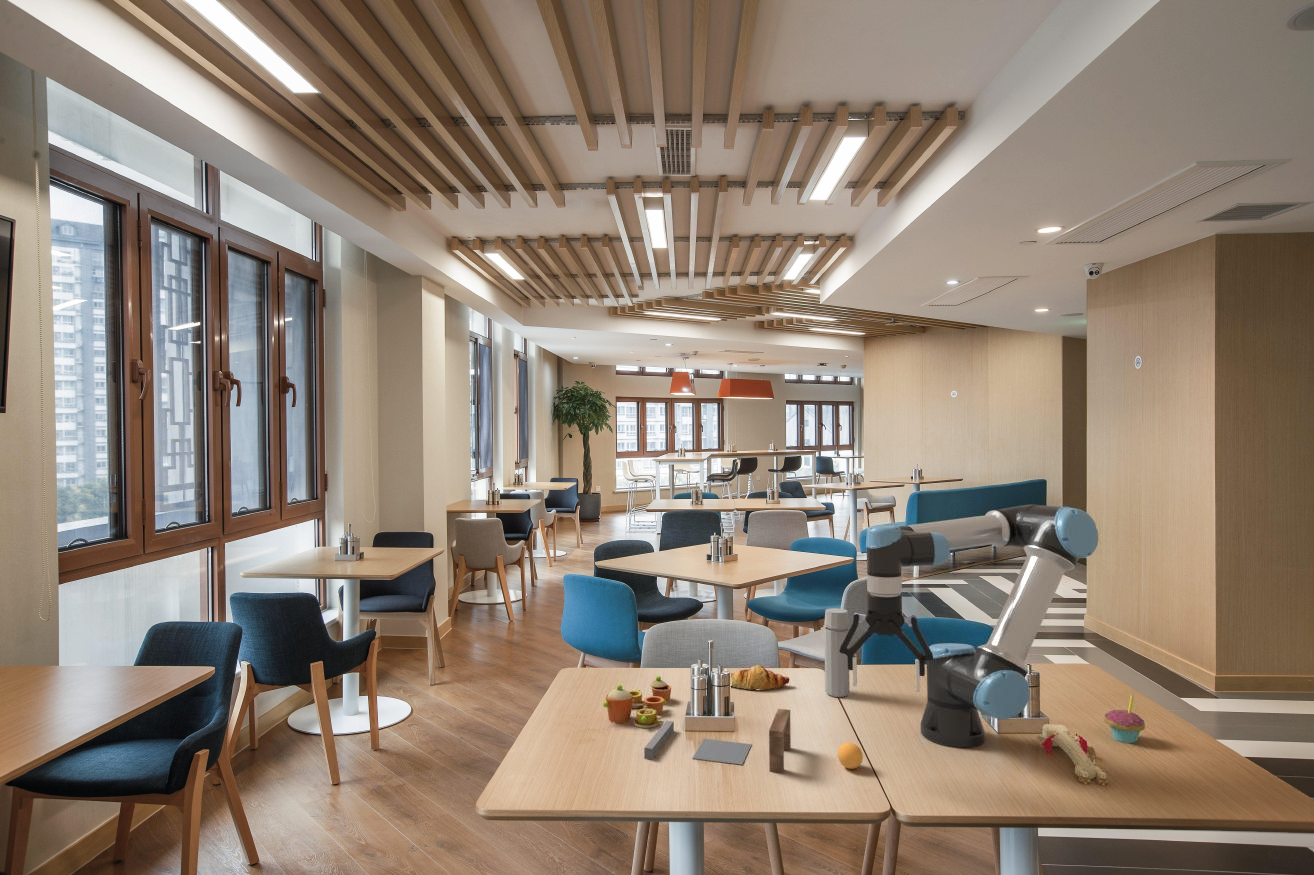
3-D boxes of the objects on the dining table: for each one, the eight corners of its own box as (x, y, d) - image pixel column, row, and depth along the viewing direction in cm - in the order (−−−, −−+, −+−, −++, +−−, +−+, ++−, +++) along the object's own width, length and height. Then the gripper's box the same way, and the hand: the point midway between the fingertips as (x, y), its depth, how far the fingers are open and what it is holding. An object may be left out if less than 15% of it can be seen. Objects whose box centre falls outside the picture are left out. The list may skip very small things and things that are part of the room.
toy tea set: (655, 732, 184) (655, 695, 185) (599, 727, 188) (599, 690, 188) (678, 699, 209) (678, 666, 210) (628, 695, 213) (628, 663, 214)
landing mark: (751, 745, 175) (751, 744, 175) (742, 765, 164) (742, 764, 164) (704, 739, 179) (704, 738, 179) (692, 758, 167) (692, 758, 167)
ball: (863, 764, 164) (862, 740, 164) (862, 774, 159) (862, 749, 159) (838, 761, 165) (838, 737, 166) (837, 771, 160) (837, 746, 160)
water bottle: (851, 699, 208) (850, 613, 208) (824, 697, 209) (823, 612, 210) (849, 689, 217) (848, 607, 217) (823, 687, 218) (822, 606, 219)
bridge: (790, 747, 173) (790, 709, 174) (782, 773, 160) (782, 731, 160) (778, 746, 174) (778, 708, 174) (769, 771, 160) (769, 730, 161)
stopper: (673, 731, 184) (673, 721, 184) (652, 759, 167) (652, 748, 167) (666, 730, 185) (666, 720, 185) (644, 758, 168) (644, 747, 168)
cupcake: (1141, 736, 179) (1140, 688, 179) (1148, 749, 171) (1147, 699, 172) (1102, 731, 183) (1100, 684, 183) (1107, 743, 175) (1106, 694, 175)
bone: (1119, 792, 153) (1070, 737, 177) (1120, 753, 152) (1071, 703, 177) (1069, 789, 154) (1028, 735, 179) (1070, 750, 154) (1028, 701, 178)
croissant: (721, 699, 218) (720, 680, 215) (721, 675, 227) (720, 656, 224) (790, 700, 216) (791, 680, 213) (787, 675, 225) (787, 656, 222)
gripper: (941, 593, 161) (943, 687, 160) (829, 587, 169) (831, 677, 168) (944, 599, 154) (946, 697, 153) (827, 593, 161) (828, 687, 161)
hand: (886, 687), depth 161 cm, fingers open, 13 cm apart
